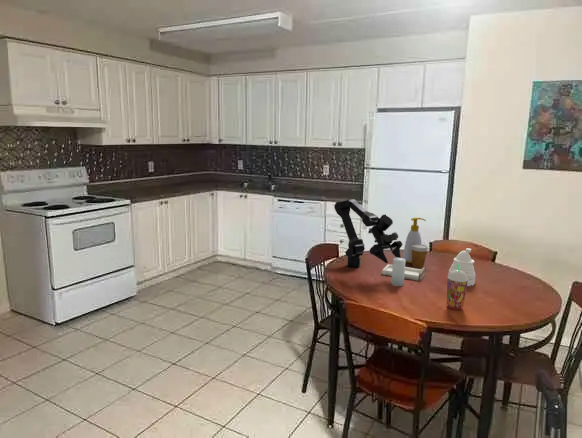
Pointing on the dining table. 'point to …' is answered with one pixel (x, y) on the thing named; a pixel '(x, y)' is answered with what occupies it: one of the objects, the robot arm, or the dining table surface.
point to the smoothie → (456, 289)
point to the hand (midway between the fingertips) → (393, 261)
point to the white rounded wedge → (398, 271)
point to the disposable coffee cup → (418, 255)
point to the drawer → (406, 272)
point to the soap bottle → (412, 240)
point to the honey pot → (465, 265)
